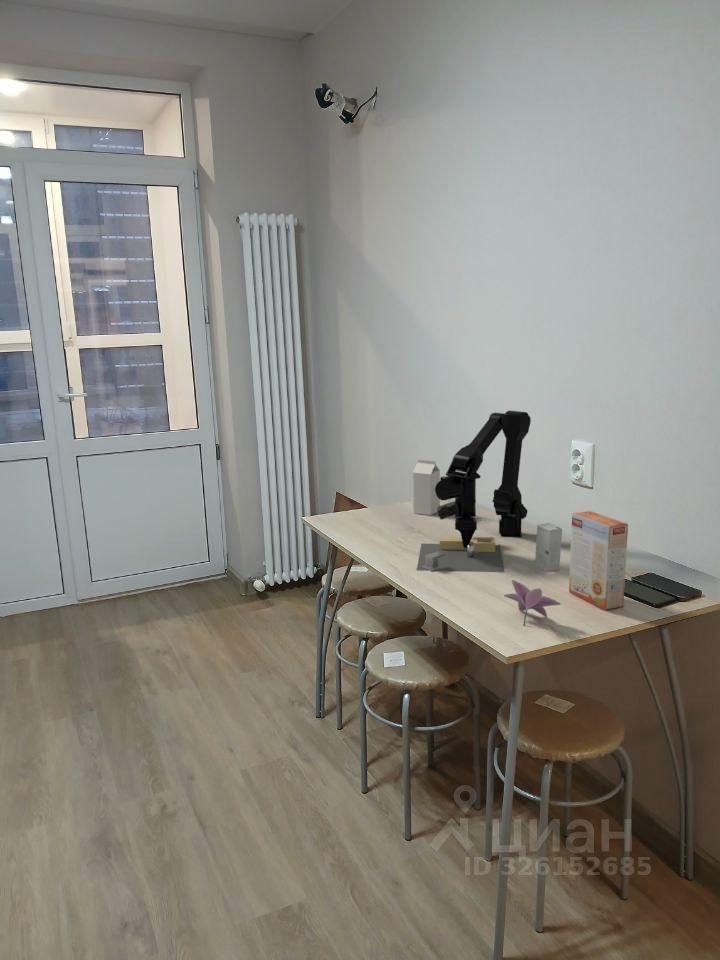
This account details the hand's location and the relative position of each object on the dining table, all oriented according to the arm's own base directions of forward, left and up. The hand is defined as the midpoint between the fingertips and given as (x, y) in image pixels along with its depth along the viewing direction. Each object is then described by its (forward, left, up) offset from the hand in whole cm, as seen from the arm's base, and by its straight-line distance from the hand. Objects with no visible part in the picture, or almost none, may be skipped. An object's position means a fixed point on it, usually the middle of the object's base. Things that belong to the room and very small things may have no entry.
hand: (465, 544), depth 226 cm
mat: (+2, +9, -1) cm, 9 cm away
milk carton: (+14, -43, -2) cm, 45 cm away
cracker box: (-31, +39, -2) cm, 50 cm away
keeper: (+10, +19, -1) cm, 21 cm away
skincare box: (-22, +16, -2) cm, 28 cm away
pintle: (-1, +8, -1) cm, 8 cm away
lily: (-14, +53, -2) cm, 55 cm away
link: (0, 0, -1) cm, 1 cm away
